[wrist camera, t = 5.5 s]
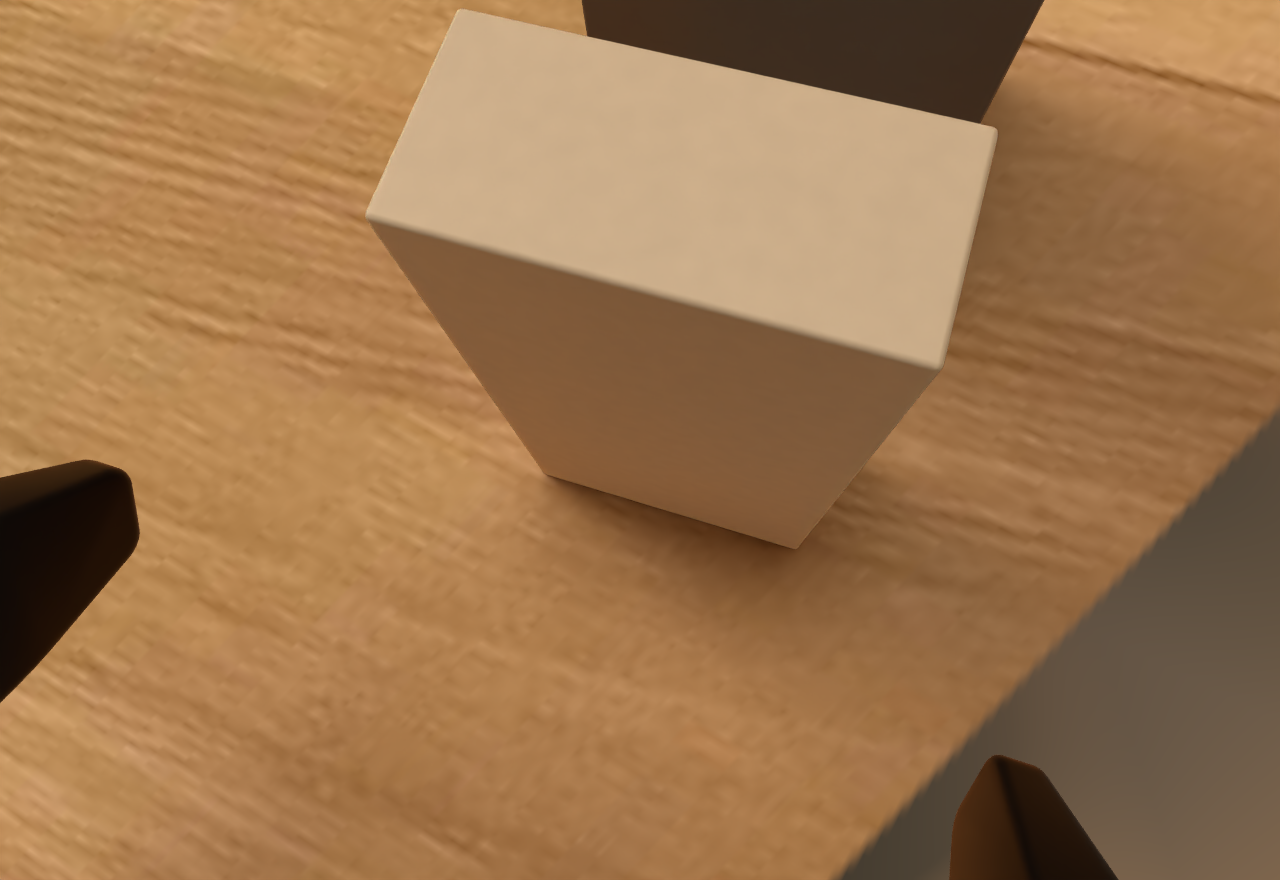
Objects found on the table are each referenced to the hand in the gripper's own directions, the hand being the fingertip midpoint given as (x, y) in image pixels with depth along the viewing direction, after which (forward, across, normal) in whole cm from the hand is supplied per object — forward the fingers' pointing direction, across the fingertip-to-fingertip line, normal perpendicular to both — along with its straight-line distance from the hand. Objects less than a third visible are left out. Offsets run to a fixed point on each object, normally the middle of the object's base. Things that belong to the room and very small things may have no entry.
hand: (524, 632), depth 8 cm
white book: (+12, 0, +5) cm, 13 cm away
